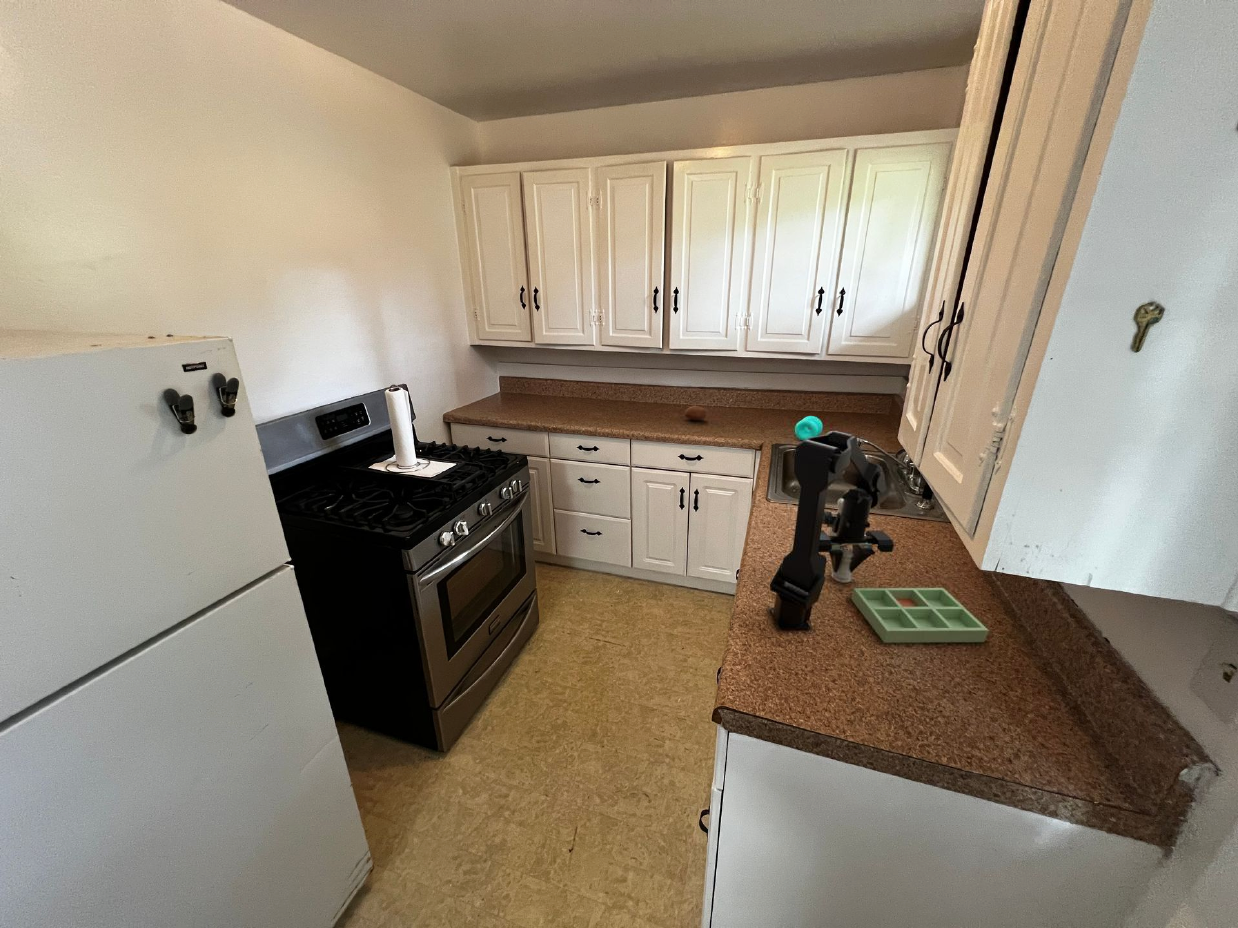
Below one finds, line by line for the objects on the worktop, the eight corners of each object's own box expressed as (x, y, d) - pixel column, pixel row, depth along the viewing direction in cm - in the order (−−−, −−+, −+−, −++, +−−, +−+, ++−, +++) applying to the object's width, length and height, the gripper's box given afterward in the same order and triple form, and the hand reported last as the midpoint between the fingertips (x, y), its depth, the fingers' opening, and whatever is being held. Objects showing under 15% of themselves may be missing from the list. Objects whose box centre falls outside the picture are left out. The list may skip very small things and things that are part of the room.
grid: (884, 642, 96) (887, 630, 95) (851, 598, 109) (853, 587, 108) (984, 642, 97) (988, 630, 95) (939, 598, 110) (943, 587, 108)
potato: (707, 422, 240) (708, 408, 238) (686, 422, 240) (687, 408, 237) (704, 418, 248) (705, 404, 246) (683, 418, 248) (684, 404, 245)
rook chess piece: (834, 570, 119) (839, 543, 117) (853, 577, 117) (859, 549, 114) (828, 578, 116) (834, 550, 113) (847, 586, 114) (854, 557, 111)
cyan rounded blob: (821, 438, 219) (825, 417, 215) (815, 444, 211) (819, 422, 208) (799, 434, 224) (802, 413, 221) (792, 439, 217) (795, 418, 213)
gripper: (876, 498, 118) (863, 553, 124) (801, 498, 117) (792, 553, 123) (902, 520, 107) (887, 578, 113) (820, 520, 107) (809, 578, 113)
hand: (842, 571), depth 116 cm, fingers closed on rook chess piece, 3 cm apart
